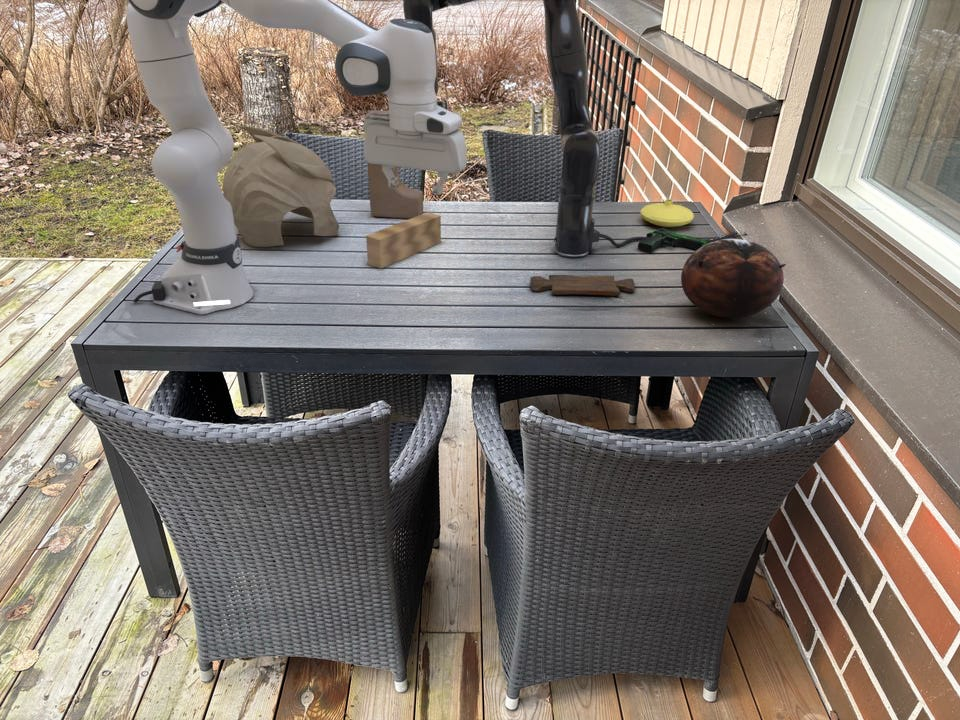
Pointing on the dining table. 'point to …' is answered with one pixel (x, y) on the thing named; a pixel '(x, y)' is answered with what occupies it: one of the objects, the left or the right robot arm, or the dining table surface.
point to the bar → (403, 239)
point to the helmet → (277, 188)
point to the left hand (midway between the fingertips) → (415, 190)
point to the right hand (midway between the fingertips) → (424, 139)
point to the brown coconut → (732, 278)
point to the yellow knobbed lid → (667, 214)
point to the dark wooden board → (581, 285)
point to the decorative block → (391, 193)
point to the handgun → (669, 240)
